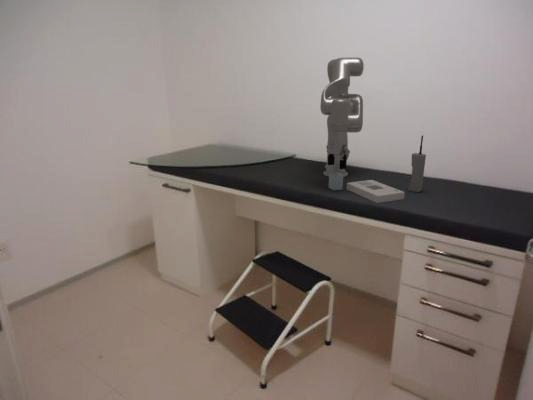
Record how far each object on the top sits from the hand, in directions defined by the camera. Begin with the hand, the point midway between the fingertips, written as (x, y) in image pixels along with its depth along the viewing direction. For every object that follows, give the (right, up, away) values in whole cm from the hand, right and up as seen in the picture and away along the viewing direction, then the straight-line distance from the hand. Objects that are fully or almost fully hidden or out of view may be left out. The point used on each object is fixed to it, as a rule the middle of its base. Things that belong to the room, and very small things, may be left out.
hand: (336, 166), depth 180 cm
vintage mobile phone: (+35, -11, +1) cm, 37 cm away
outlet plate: (+16, -12, -4) cm, 20 cm away
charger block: (0, -10, +4) cm, 10 cm away
